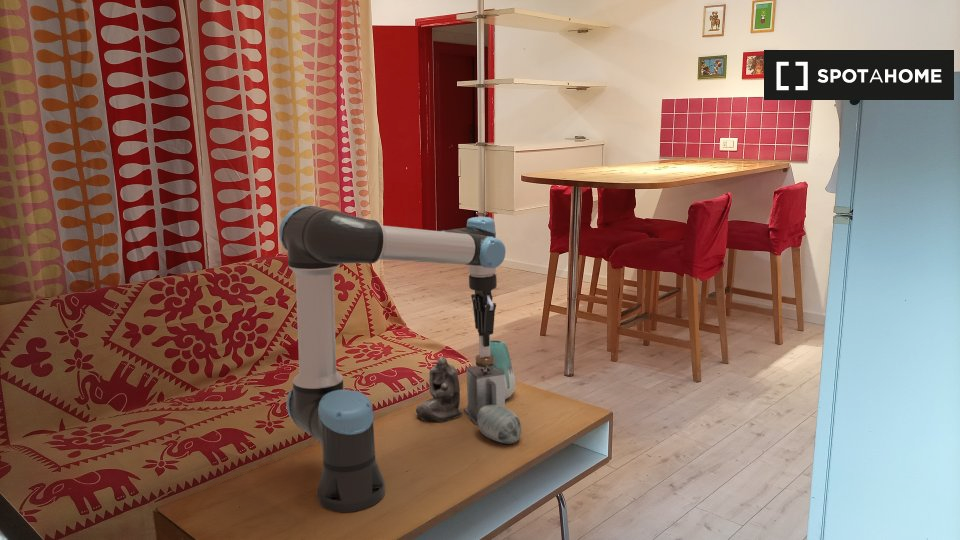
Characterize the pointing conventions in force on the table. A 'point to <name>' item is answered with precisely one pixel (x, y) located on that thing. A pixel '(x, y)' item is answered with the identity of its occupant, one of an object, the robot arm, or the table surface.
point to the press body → (484, 389)
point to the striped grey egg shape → (499, 424)
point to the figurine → (441, 394)
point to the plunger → (485, 362)
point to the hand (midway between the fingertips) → (484, 356)
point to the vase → (503, 364)
